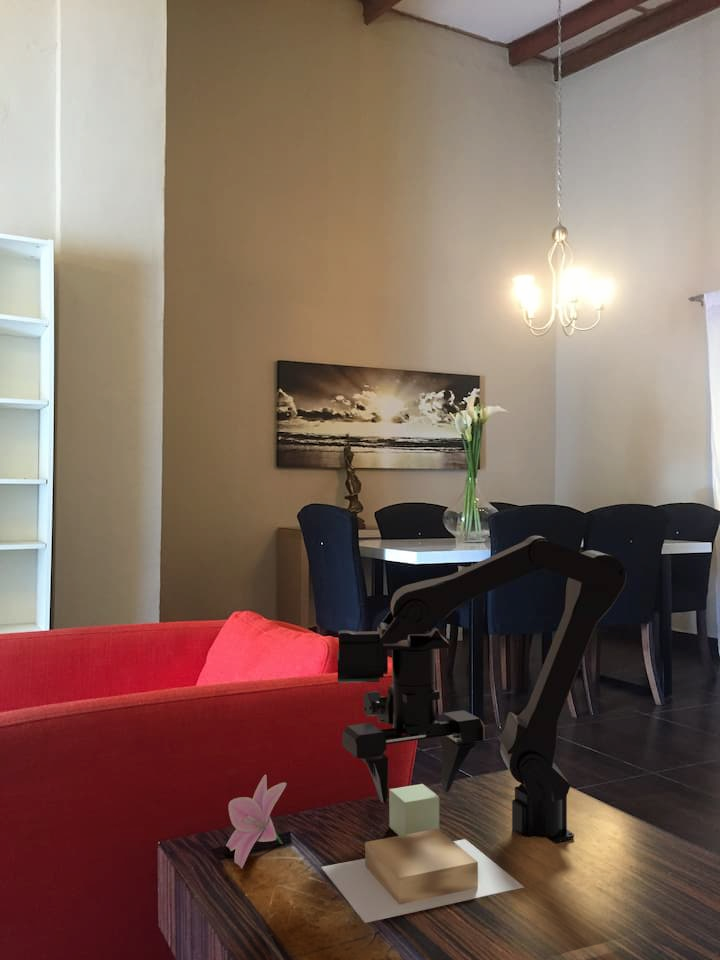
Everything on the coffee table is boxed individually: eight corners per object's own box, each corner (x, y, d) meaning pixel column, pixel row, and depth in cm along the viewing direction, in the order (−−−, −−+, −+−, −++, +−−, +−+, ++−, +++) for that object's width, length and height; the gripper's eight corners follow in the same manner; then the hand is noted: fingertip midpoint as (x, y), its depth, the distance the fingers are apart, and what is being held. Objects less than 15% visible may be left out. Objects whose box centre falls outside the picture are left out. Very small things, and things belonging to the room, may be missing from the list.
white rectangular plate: (465, 845, 114) (465, 839, 114) (524, 893, 101) (524, 886, 101) (321, 873, 107) (321, 866, 107) (365, 929, 94) (365, 922, 94)
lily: (234, 839, 119) (203, 787, 116) (313, 805, 119) (284, 753, 115) (232, 908, 108) (198, 853, 104) (320, 871, 108) (288, 815, 104)
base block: (438, 852, 110) (438, 828, 110) (477, 887, 101) (477, 861, 101) (365, 866, 107) (365, 842, 107) (399, 904, 97) (399, 877, 97)
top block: (422, 827, 120) (422, 783, 120) (439, 841, 115) (439, 796, 115) (389, 833, 118) (389, 789, 118) (405, 848, 114) (404, 802, 113)
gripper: (447, 661, 127) (448, 767, 128) (327, 674, 120) (328, 787, 121) (486, 679, 117) (487, 794, 117) (357, 694, 110) (359, 817, 110)
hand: (414, 797), depth 117 cm, fingers open, 9 cm apart
